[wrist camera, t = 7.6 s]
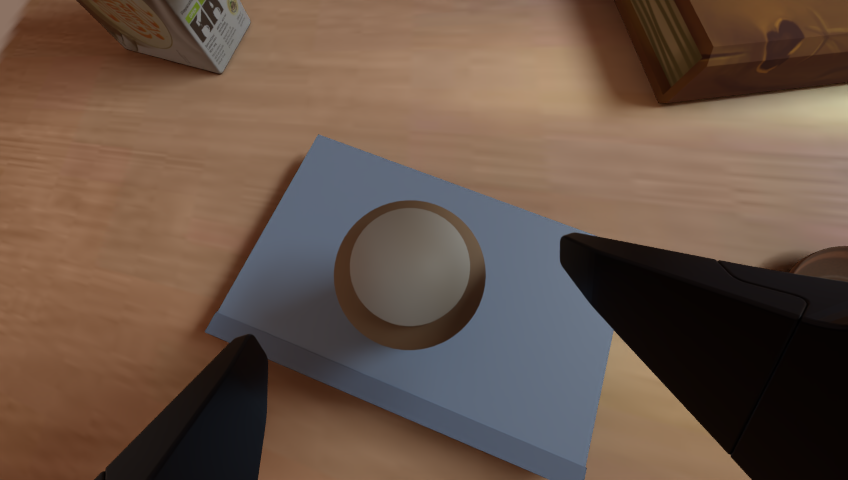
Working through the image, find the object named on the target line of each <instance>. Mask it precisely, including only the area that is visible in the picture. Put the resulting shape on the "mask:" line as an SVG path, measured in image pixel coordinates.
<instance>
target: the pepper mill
mask: <svg viewBox="0 0 848 480" xmlns="http://www.w3.org/2000/svg"><path fill="white" fill-rule="evenodd" d="M485 280H486V269H485V262H484V257H483V253H482V250H481V247H480V245H479V243H478V241H477V239H476V237H475V236H474V234H473V233H472V231H471V230H470V229H469V227H468V226H467V225H466V224H465V223H464V222H463V221H462V220H461V219H460V218H459V217H457V216H456V215H455V214H453V213H452V212H450V211H448V210H447V209H445V208H443V207H440V206H438V205H436V204H432V203H428V202H424V201H417V200H405V201H396V202H392V203H388V204H385V205H382V206H380V207H378V208H376V209H374V210H372V211H370V212H369V213H367V214H366V215H364V216H363V217H362V218H361V219H359V220H358V221H357V222H356V223H355V224H354V225H353V226H352V227H351V229H350V230H349V231H348V233H347V234H346V236H345V237H344V239H343V241H342V243H341V245H340V247H339V250H338V253H337V256H336V260H335V265H334V286H335V291H336V295H337V298H338V302H339V304H340V306H341V308H342V310H343V312H344V314H345V315H346V317H347V318H348V320H349V321H350V322H351V324H352V325H353V326H354V327H355V328H356V329H357V330H358V331H359V332H361V333H362V334H363V335H364V336H366V337H367V338H369V339H370V340H372V341H374V342H376V343H378V344H380V345H383V346H386V347H389V348H393V349H399V350H420V349H426V348H429V347H433V346H436V345H438V344H441V343H443V342H445V341H447V340H448V339H450V338H452V337H453V336H455V335H456V334H457V333H458V332H460V331H461V330H462V329H463V328H464V327H465V326H466V325H467V324H468V323H469V321H470V320H471V319H472V317H473V316H474V314H475V313H476V311H477V309H478V307H479V305H480V302H481V299H482V297H483V293H484V288H485Z"/></svg>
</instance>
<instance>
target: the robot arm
mask: <svg viewBox="0 0 848 480" xmlns="http://www.w3.org/2000/svg"><path fill="white" fill-rule="evenodd" d="M560 263H561V265H562V267H563V269H564V270H565V271H566V273H567V274H568V275H569V277H570V278H571V279H572V281H573V282H574V283H575V285H576V286H577V287H578V289H579V290H580V291H581V293H582V294H583V295H584V297H585V298H586V299H587V301H588V302H589V303H590V304H591V306H592V307H593V308H594V309H595V310H596V311H597V312H598V314H599V315H600V316H601V317H602V318H603V319H604V320H605V321H606V322H607V323H608V324H609V325H610V327H611V328H612V329H613V330H614V331H615V332H616V333H617V334H618V335H619V336H620V337H621V338H622V340H623V341H624V342H625V343H626V344H627V345H628V346H629V347H630V348H631V349H632V350H633V351H634V352H635V354H636V355H637V356H638V357H639V358H640V359H641V360H642V361H643V362H644V363H645V364H646V365H647V367H648V368H649V369H650V370H651V371H652V372H653V373H654V374H655V375H656V376H657V377H658V378H659V380H660V381H661V382H662V383H663V384H664V385H665V386H666V387H667V388H668V389H669V390H670V391H671V392H672V394H673V395H674V396H675V397H676V398H677V399H678V400H679V401H680V402H681V403H682V404H683V405H684V407H685V408H686V409H687V410H688V411H689V412H690V413H691V414H692V415H693V416H694V417H695V418H696V420H697V421H698V422H699V423H700V424H701V425H702V426H703V427H704V428H705V429H706V430H707V431H708V432H709V434H710V435H711V436H712V437H713V438H714V439H715V440H716V441H717V442H718V443H719V444H720V445H721V447H722V448H723V449H724V450H725V451H726V452H727V453H728V454H730V455H731V458H732V459H733V460H734V461H735V462H736V463H737V464H738V465H739V466H740V467H741V469H742V470H743V471H744V472H745V473H746V474H747V475H748V476H749V477H750V478H751V479H752V480H848V282H846V281H840V280H833V279H827V278H820V277H813V276H807V275H800V274H794V273H788V272H782V271H775V270H769V269H763V268H758V267H752V266H747V265H741V264H736V263H731V262H726V261H721V260H719V261H716V260H715V259H710V258H705V257H700V256H695V255H690V254H684V253H679V252H674V251H669V250H664V249H659V248H654V247H648V246H643V245H638V244H633V243H628V242H623V241H618V240H613V239H607V238H602V237H597V236H592V235H587V234H582V233H577V232H573V233H570V234H567V235H563V236H562V237H561V239H560ZM267 384H268V358H267V355H266V353H265V351H264V350H263V348H262V347H261V345H260V344H259V342H258V340H257V339H256V337H255V336H254V335H253V334H246V335H243V336H239V337H236V338H234V339H233V340H232V341H231V342H230V343H229V344H228V345H227V346H226V347H225V348H224V349H223V350H222V351H221V352H220V353H219V354H218V355H217V356H216V357H215V358H214V359H213V360H212V361H211V362H210V363H209V364H208V365H207V366H206V367H205V368H204V369H203V370H202V371H201V373H200V374H199V375H198V376H197V377H196V378H195V379H194V380H193V381H192V382H191V383H190V384H189V385H188V386H187V387H186V388H185V389H184V390H183V391H182V392H181V393H180V394H179V395H178V396H177V397H176V398H175V399H174V400H173V401H172V402H171V403H170V404H169V405H168V406H167V407H166V408H165V409H164V410H163V411H162V412H161V413H160V414H159V415H158V416H157V417H156V418H155V419H154V420H153V421H152V422H151V423H150V424H149V425H148V426H147V427H146V428H145V429H144V430H143V431H142V432H141V433H140V434H139V435H138V436H137V437H136V438H135V439H134V440H133V441H132V442H131V443H130V444H129V445H128V446H127V447H126V448H125V449H124V450H123V451H122V452H121V453H120V454H119V455H118V456H117V457H116V458H115V459H114V460H113V461H112V462H111V463H110V464H109V465H108V466H107V467H106V471H103V472H101V473H100V474H99V475H98V476H97V477H96V478H95V479H94V480H258V474H259V467H260V460H261V453H262V446H263V439H264V432H265V425H266V415H267Z"/></svg>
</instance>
